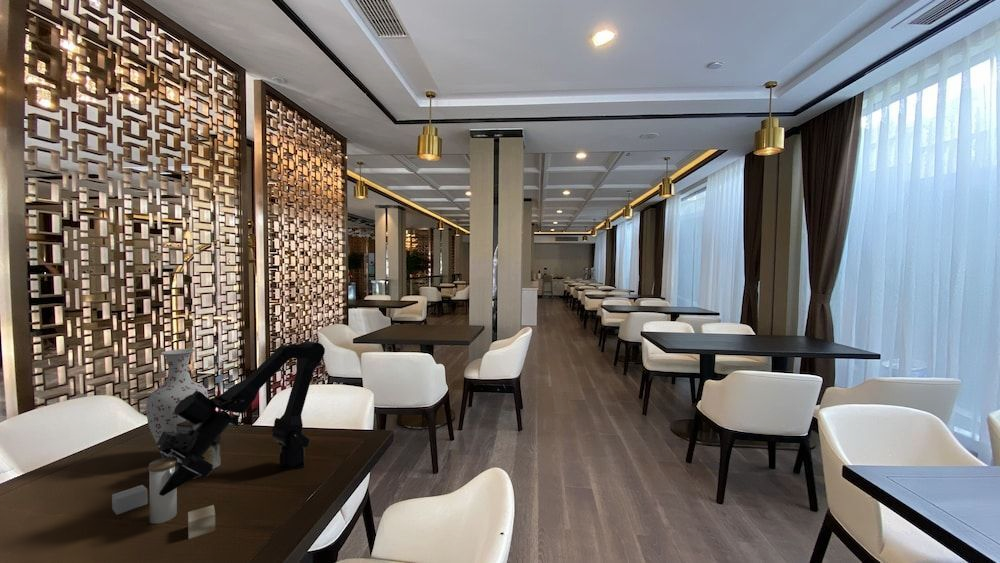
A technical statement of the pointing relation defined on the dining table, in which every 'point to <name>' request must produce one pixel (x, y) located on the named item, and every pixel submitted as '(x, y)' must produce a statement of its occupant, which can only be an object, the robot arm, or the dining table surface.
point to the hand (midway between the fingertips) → (156, 491)
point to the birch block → (201, 521)
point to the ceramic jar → (158, 477)
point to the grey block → (129, 499)
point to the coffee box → (212, 453)
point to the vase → (171, 394)
